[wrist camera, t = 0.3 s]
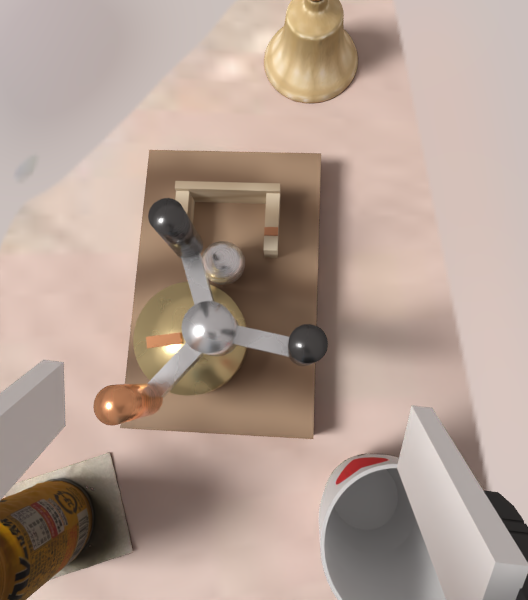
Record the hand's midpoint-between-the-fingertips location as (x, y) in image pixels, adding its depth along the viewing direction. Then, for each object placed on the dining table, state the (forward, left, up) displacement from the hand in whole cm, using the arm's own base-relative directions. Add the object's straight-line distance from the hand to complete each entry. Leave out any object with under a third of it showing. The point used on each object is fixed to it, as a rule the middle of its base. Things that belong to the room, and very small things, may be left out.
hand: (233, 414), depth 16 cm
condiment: (-10, +14, -17) cm, 24 cm away
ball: (+9, +3, -15) cm, 18 cm away
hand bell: (+29, -3, -17) cm, 34 cm away
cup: (-7, -8, -17) cm, 20 cm away
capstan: (+5, +3, -15) cm, 16 cm away
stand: (+8, +3, -17) cm, 19 cm away
